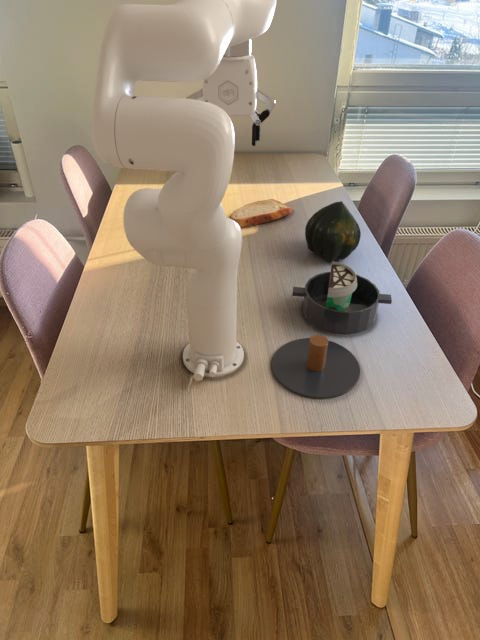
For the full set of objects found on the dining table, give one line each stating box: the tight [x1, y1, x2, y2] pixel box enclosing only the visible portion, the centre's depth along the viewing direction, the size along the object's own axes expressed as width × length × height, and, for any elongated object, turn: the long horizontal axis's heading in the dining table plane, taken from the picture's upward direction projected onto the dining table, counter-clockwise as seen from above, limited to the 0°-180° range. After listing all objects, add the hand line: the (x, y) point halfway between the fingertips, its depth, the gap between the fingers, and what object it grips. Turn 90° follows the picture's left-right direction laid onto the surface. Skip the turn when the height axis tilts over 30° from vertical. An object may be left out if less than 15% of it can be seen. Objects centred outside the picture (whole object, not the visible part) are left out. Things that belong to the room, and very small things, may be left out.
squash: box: [304, 200, 362, 262], centre depth 139 cm, size 14×15×15 cm
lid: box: [271, 334, 361, 400], centre depth 102 cm, size 18×18×8 cm
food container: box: [325, 261, 357, 312], centre depth 116 cm, size 12×6×10 cm, turn 168°
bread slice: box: [229, 198, 293, 228], centre depth 158 cm, size 18×18×4 cm
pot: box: [291, 271, 393, 335], centre depth 117 cm, size 17×22×6 cm
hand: (230, 142), depth 103 cm, fingers open, 9 cm apart
